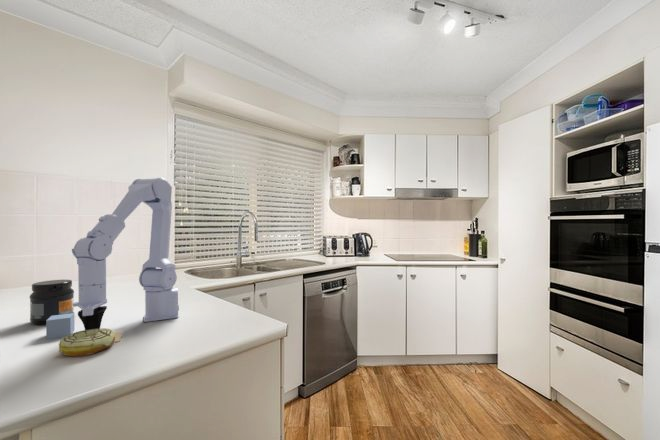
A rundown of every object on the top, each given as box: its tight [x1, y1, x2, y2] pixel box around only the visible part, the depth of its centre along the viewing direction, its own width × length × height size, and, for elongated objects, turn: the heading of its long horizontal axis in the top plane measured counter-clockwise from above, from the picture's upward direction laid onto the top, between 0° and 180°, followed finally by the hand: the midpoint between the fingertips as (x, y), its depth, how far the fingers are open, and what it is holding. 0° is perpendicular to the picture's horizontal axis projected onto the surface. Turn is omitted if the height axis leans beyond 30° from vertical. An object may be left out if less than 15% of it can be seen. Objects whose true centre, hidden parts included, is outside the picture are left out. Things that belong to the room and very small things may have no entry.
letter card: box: [58, 330, 123, 352], centre depth 83 cm, size 12×9×1 cm
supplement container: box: [29, 279, 75, 326], centre depth 101 cm, size 10×10×12 cm
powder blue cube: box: [45, 312, 75, 340], centre depth 88 cm, size 5×5×5 cm
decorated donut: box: [58, 327, 116, 358], centre depth 77 cm, size 10×11×4 cm
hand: (92, 337), depth 82 cm, fingers closed
